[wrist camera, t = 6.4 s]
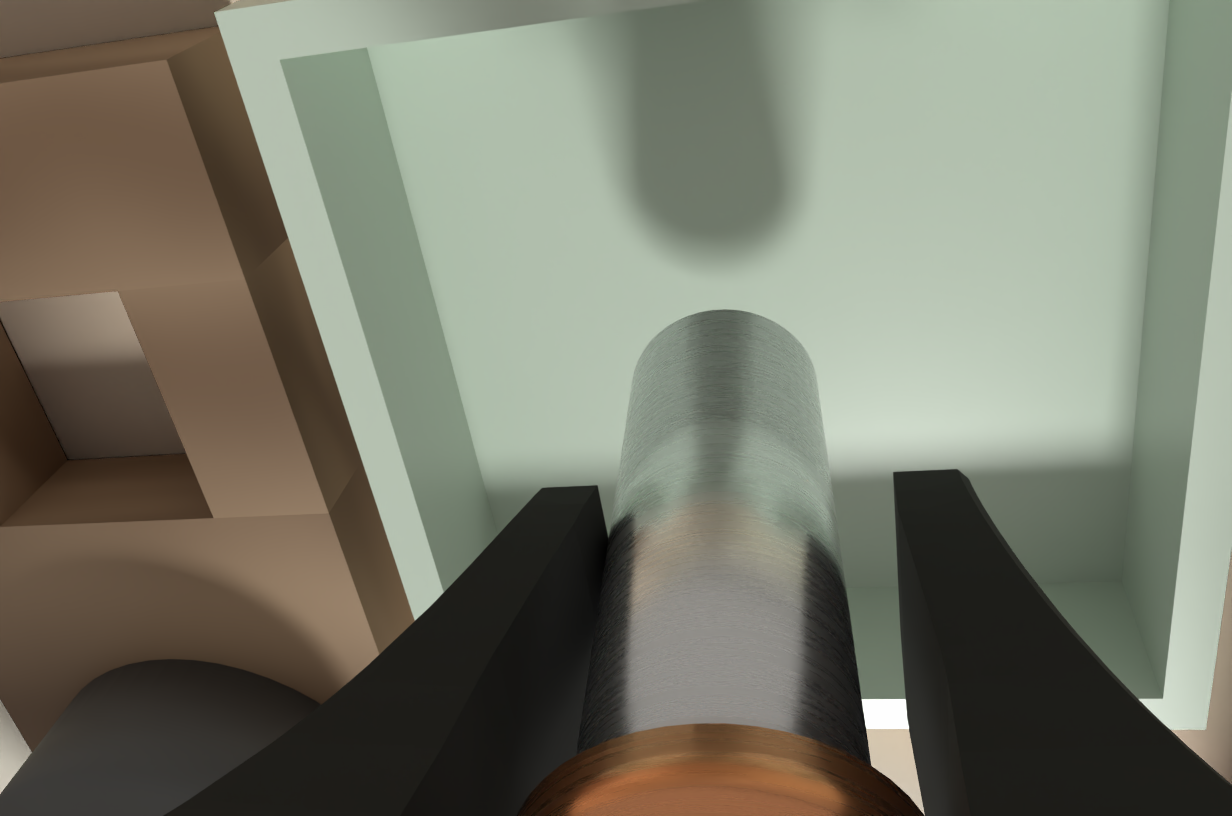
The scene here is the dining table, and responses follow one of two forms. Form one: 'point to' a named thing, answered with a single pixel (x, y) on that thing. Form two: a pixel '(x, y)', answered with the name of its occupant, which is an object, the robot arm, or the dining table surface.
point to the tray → (786, 268)
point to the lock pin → (722, 599)
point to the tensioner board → (171, 484)
